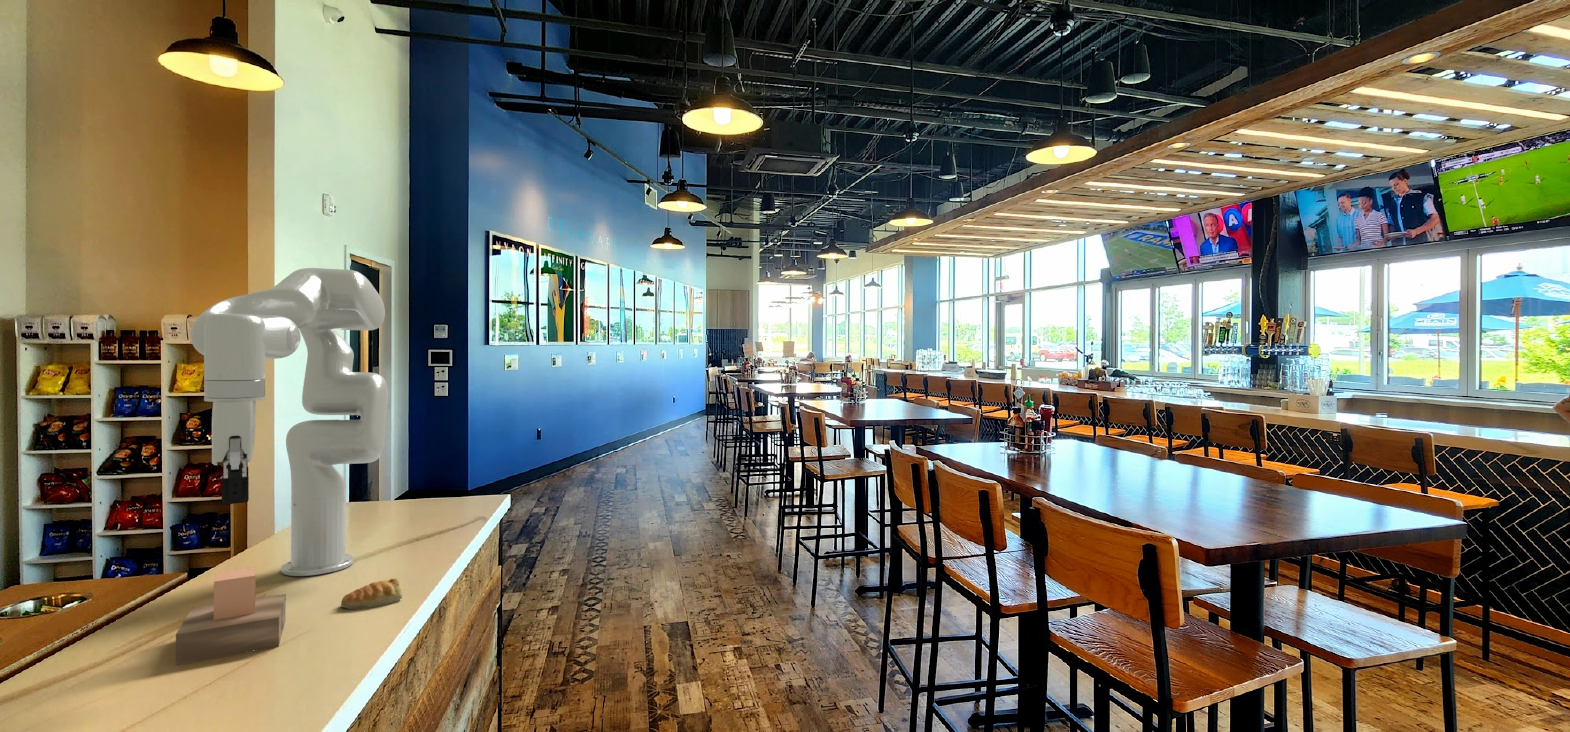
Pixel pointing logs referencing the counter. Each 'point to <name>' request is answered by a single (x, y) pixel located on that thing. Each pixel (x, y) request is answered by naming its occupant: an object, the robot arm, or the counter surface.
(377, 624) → the counter surface
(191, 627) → the taupe streaked block
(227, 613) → the terracotta block
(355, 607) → the pastry
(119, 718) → the counter surface
